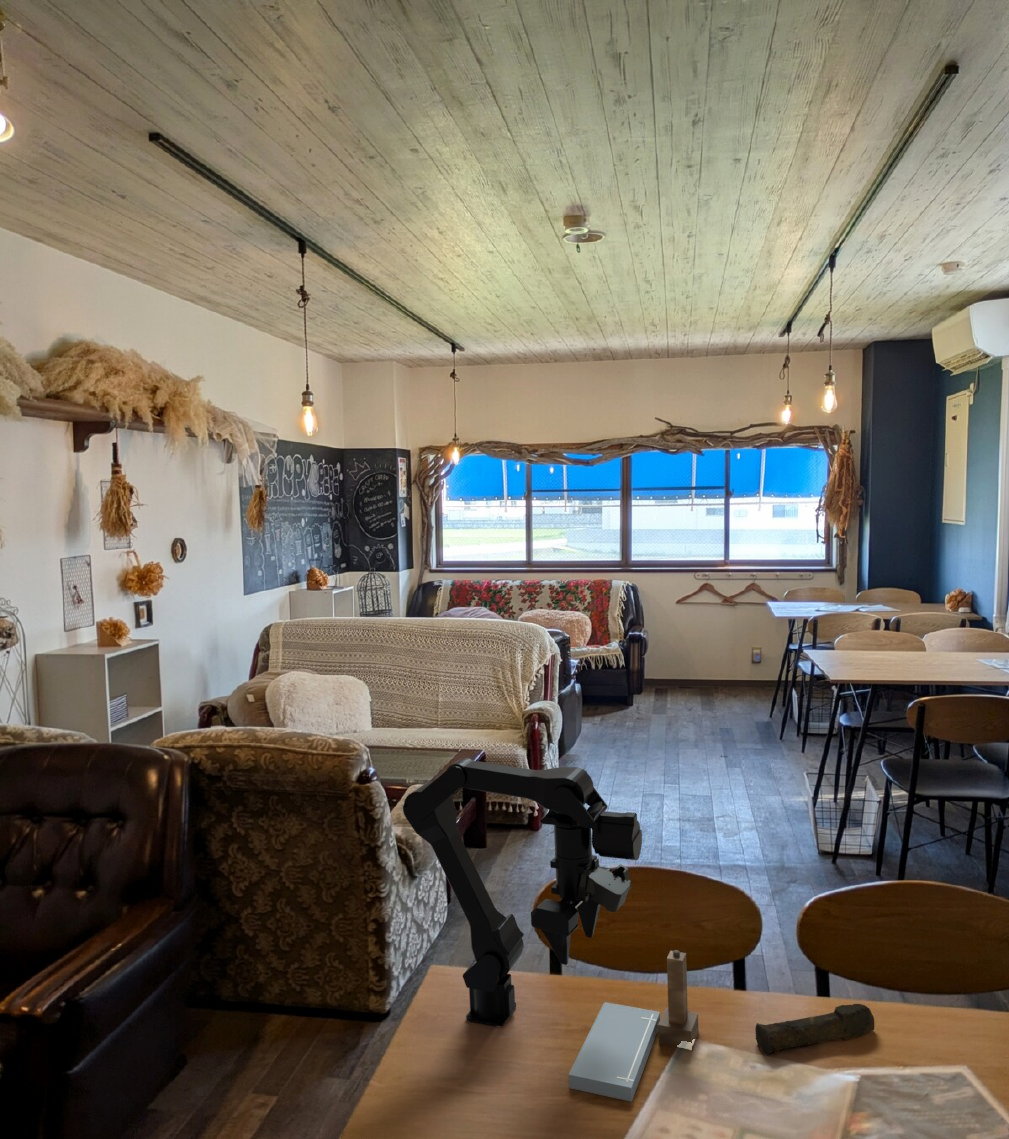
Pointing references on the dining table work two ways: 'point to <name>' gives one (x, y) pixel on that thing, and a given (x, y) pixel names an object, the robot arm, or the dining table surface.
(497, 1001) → the robot arm
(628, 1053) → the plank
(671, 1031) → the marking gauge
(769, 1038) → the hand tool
